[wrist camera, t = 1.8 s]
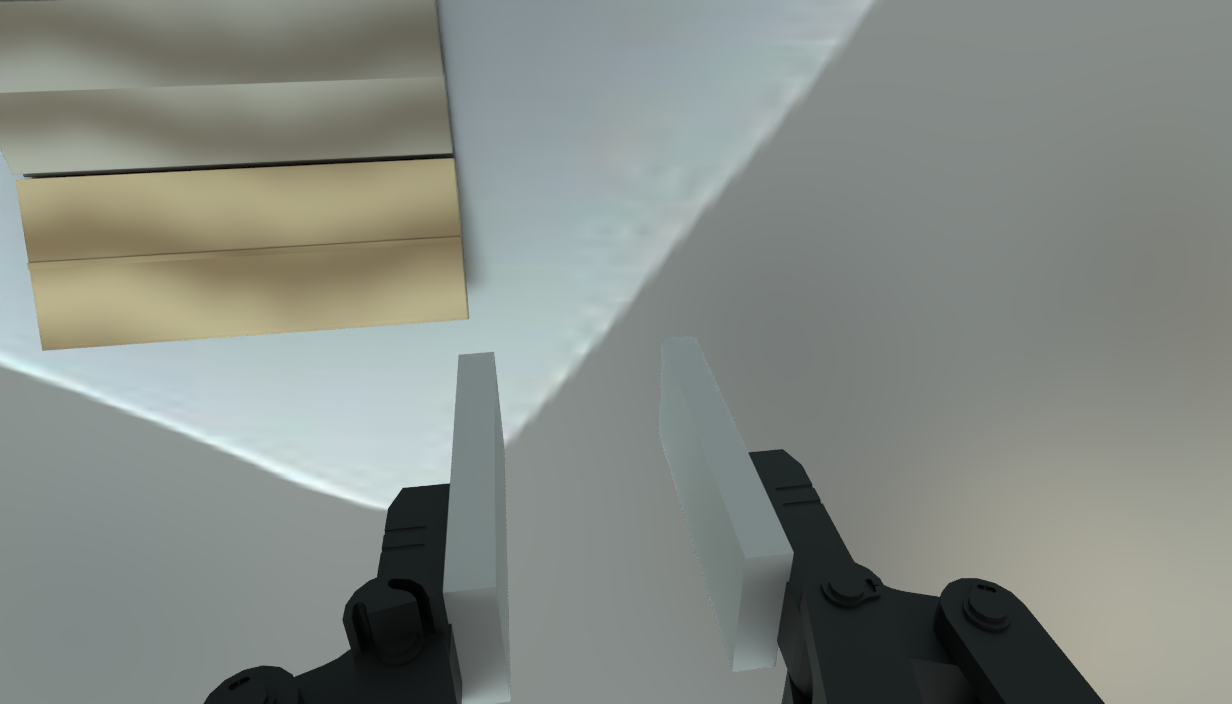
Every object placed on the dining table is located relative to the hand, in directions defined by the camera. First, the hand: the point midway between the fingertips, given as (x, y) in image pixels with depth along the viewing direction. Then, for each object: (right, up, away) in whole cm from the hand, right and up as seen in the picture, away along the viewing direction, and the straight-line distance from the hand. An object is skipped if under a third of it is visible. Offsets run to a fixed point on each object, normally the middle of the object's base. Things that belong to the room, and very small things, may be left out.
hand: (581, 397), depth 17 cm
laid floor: (-17, +14, +18) cm, 28 cm away
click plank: (-17, +6, +21) cm, 27 cm away
